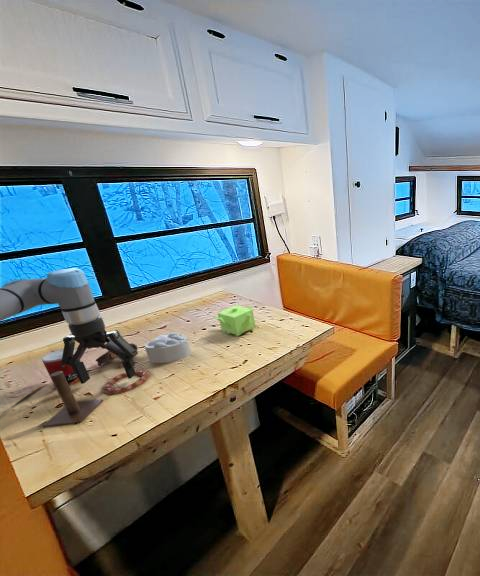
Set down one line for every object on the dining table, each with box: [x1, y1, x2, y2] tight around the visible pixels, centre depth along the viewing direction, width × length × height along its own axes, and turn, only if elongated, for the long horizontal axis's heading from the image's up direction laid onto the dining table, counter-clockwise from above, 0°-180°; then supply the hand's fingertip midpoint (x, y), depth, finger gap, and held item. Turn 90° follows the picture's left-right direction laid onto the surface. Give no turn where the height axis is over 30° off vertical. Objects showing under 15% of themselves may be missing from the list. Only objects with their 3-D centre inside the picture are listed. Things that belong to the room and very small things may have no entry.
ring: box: [102, 369, 149, 396], centre depth 100 cm, size 12×12×2 cm
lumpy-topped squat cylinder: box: [144, 331, 192, 364], centre depth 114 cm, size 10×13×9 cm
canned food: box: [41, 348, 81, 387], centre depth 100 cm, size 8×8×11 cm
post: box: [42, 371, 104, 428], centre depth 85 cm, size 9×9×14 cm
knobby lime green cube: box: [214, 305, 256, 337], centre depth 132 cm, size 15×14×11 cm
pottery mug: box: [95, 342, 138, 369], centre depth 112 cm, size 12×10×8 cm
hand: (109, 378), depth 99 cm, fingers open, 13 cm apart
